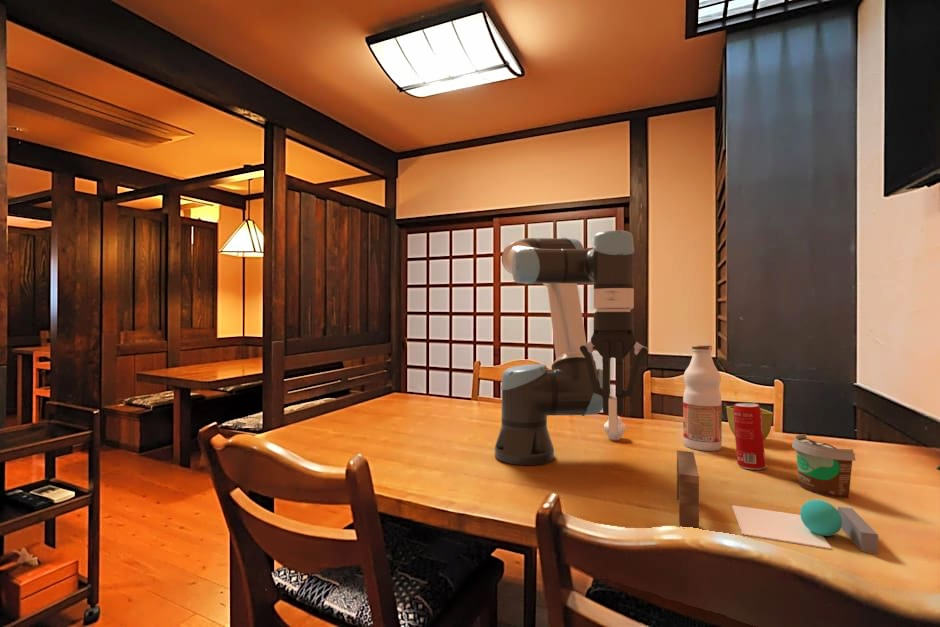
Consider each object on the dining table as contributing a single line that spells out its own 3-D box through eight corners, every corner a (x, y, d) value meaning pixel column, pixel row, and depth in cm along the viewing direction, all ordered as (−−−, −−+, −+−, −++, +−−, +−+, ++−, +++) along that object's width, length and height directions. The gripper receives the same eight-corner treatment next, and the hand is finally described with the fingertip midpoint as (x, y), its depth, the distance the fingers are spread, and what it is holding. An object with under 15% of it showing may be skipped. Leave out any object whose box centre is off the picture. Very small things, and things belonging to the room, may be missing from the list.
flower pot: (774, 444, 126) (774, 412, 126) (742, 444, 126) (742, 412, 126) (755, 436, 135) (754, 406, 135) (725, 436, 135) (725, 406, 135)
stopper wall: (861, 551, 70) (861, 531, 70) (837, 523, 79) (837, 506, 79) (877, 554, 69) (877, 534, 69) (852, 525, 78) (852, 508, 78)
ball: (800, 531, 74) (813, 501, 73) (791, 516, 79) (803, 488, 78) (839, 548, 72) (853, 518, 71) (827, 532, 77) (840, 503, 76)
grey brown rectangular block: (679, 527, 77) (679, 474, 77) (676, 496, 91) (676, 450, 91) (699, 530, 76) (699, 476, 76) (693, 498, 90) (693, 452, 90)
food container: (777, 479, 100) (777, 434, 100) (803, 478, 100) (803, 433, 100) (826, 502, 88) (826, 451, 88) (855, 501, 88) (855, 450, 88)
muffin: (600, 436, 135) (600, 412, 135) (620, 435, 136) (619, 412, 136) (609, 442, 129) (608, 417, 129) (629, 441, 130) (629, 417, 130)
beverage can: (769, 471, 105) (769, 407, 105) (739, 470, 106) (738, 406, 106) (758, 463, 110) (758, 402, 110) (729, 461, 112) (729, 401, 112)
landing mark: (742, 534, 75) (742, 533, 75) (731, 506, 86) (731, 505, 86) (831, 549, 70) (831, 548, 70) (808, 517, 81) (808, 516, 81)
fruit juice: (699, 452, 119) (699, 346, 119) (675, 442, 128) (675, 344, 128) (730, 450, 121) (729, 346, 121) (704, 440, 130) (704, 343, 130)
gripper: (576, 310, 88) (576, 431, 88) (648, 310, 83) (648, 439, 83) (582, 310, 95) (582, 423, 95) (649, 310, 90) (649, 429, 90)
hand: (613, 430), depth 89 cm, fingers closed
